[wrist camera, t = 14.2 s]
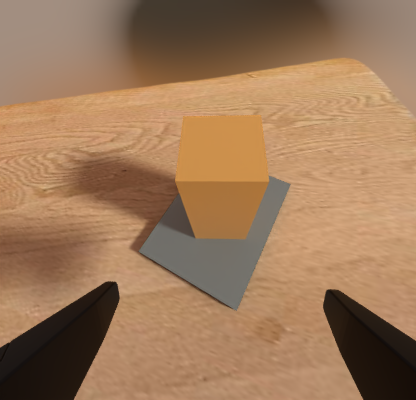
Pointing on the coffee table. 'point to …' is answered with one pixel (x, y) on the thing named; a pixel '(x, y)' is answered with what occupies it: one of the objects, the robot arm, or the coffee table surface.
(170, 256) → the post board
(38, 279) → the coffee table surface
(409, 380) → the robot arm
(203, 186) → the tall amber pillar
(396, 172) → the coffee table surface
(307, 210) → the coffee table surface
